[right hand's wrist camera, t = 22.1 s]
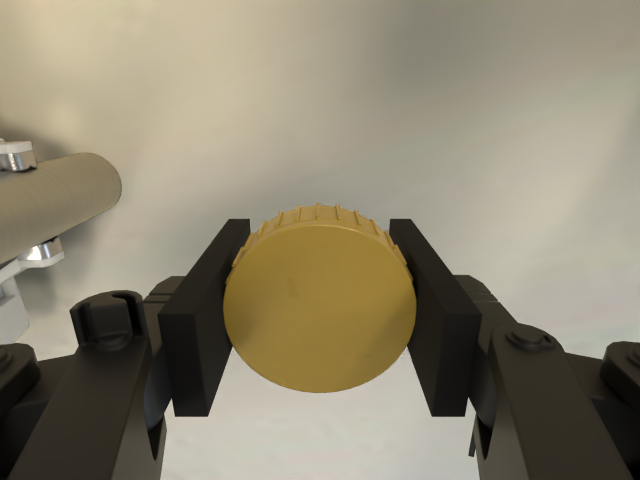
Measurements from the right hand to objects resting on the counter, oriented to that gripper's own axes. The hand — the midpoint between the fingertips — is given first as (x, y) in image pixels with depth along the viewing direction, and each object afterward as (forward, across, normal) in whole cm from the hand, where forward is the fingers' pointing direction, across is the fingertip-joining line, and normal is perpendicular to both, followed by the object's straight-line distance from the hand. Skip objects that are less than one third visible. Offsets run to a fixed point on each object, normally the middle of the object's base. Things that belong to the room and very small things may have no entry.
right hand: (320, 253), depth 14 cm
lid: (-4, 0, 0) cm, 4 cm away
